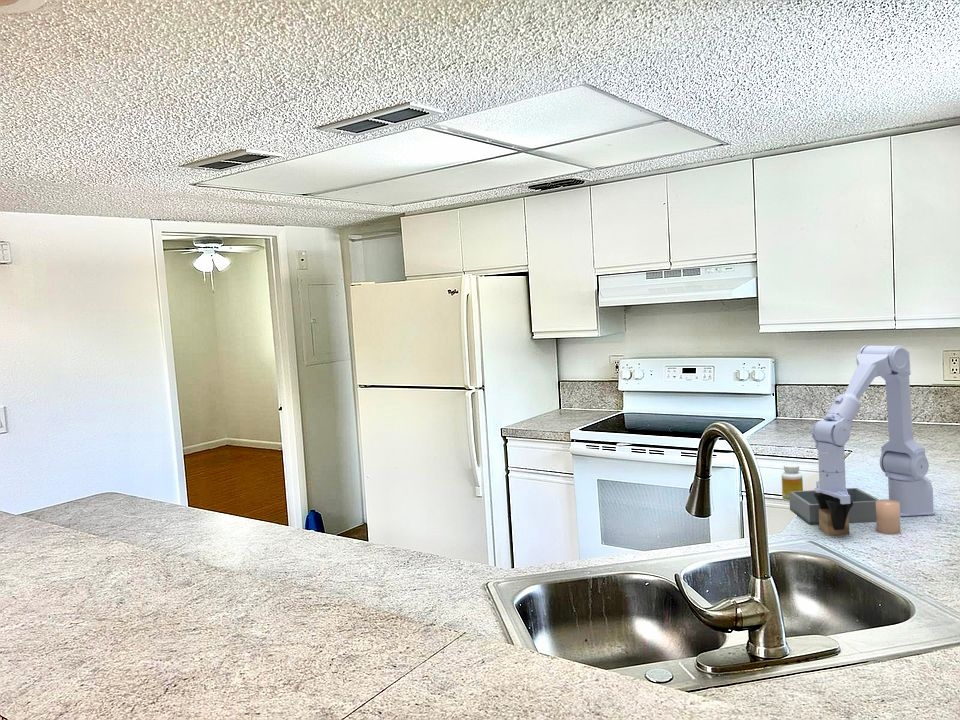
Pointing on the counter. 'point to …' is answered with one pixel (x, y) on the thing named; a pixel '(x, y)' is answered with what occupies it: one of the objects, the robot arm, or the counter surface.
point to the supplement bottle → (791, 480)
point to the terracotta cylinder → (887, 516)
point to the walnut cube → (827, 525)
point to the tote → (809, 507)
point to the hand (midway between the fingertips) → (833, 525)
